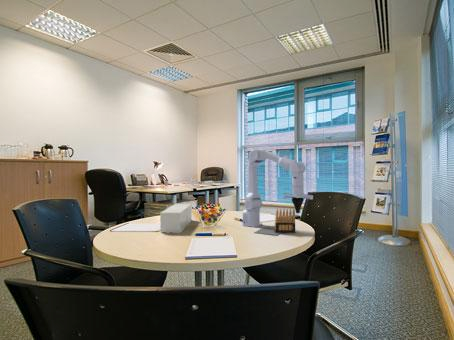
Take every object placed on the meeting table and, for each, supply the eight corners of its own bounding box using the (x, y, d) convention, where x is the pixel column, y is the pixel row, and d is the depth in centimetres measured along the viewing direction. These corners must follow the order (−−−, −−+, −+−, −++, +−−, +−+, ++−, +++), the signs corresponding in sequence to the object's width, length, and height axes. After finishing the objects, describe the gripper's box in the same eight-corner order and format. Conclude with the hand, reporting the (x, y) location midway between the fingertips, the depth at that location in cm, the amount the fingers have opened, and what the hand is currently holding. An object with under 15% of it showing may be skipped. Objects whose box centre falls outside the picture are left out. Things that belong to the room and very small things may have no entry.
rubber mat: (254, 233, 133) (254, 232, 133) (265, 226, 147) (265, 226, 147) (276, 235, 127) (276, 235, 127) (286, 228, 141) (286, 228, 141)
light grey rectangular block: (175, 220, 168) (175, 204, 168) (191, 220, 167) (191, 203, 167) (160, 233, 136) (160, 212, 136) (180, 233, 135) (180, 212, 135)
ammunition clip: (275, 232, 132) (276, 209, 131) (274, 231, 133) (275, 208, 133) (295, 232, 133) (296, 209, 132) (294, 231, 135) (295, 208, 134)
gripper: (281, 186, 131) (281, 213, 131) (310, 186, 124) (311, 215, 124) (285, 185, 137) (285, 210, 137) (313, 186, 130) (313, 213, 130)
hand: (297, 212), depth 131 cm, fingers closed
